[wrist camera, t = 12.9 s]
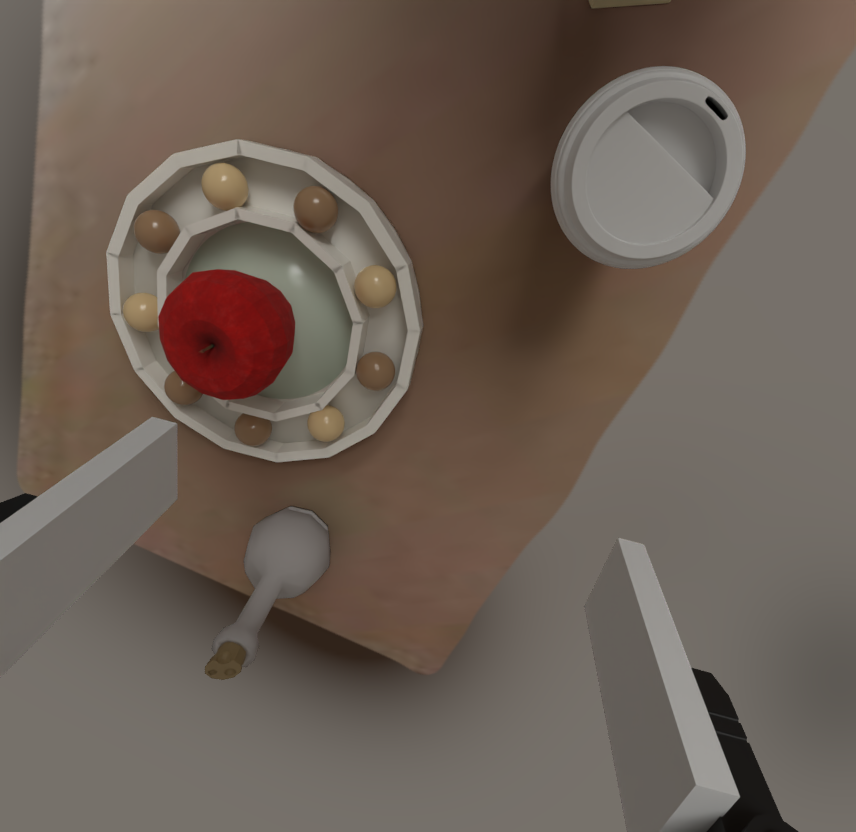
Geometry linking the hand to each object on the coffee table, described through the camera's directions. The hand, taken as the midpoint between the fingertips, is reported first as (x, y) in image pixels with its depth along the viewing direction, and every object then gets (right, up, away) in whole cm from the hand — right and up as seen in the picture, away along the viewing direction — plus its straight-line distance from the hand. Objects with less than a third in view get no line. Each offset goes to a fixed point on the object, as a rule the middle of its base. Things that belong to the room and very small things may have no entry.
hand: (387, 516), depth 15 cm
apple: (-13, +12, +31) cm, 35 cm away
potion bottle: (-13, -10, +42) cm, 45 cm away
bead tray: (-13, +12, +31) cm, 36 cm away
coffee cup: (+14, +21, +24) cm, 35 cm away
